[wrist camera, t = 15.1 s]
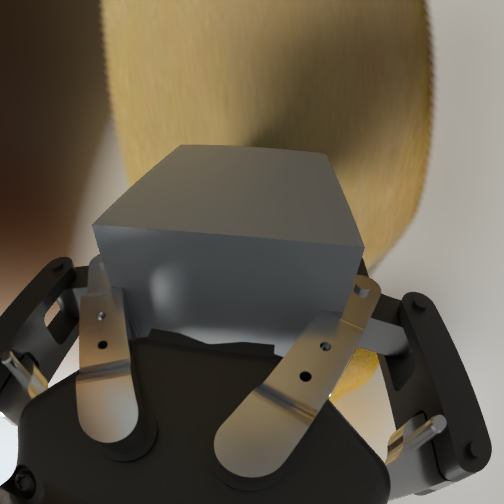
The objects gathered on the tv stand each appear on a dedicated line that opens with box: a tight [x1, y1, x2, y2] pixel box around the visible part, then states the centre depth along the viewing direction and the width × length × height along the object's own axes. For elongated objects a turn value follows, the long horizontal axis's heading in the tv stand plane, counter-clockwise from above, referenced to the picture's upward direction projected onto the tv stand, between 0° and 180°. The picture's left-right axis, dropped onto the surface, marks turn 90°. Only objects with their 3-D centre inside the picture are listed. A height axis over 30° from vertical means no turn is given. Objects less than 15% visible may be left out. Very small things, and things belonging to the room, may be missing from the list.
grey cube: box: [92, 145, 365, 357], centre depth 11 cm, size 7×7×7 cm
